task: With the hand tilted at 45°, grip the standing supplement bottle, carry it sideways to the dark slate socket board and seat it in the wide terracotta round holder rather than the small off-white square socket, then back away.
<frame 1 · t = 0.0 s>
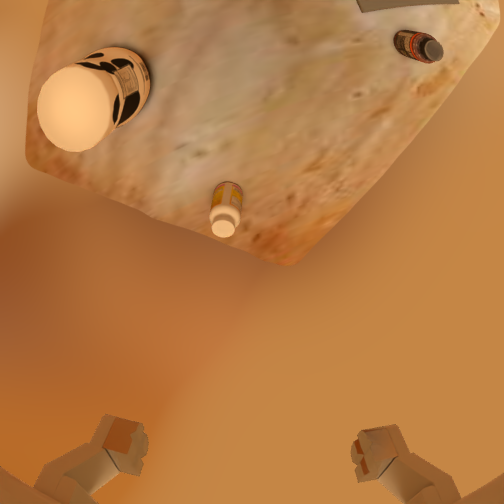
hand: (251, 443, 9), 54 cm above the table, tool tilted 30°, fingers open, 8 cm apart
supplement bottle: (405, 42, 36), on the table
supplement bottle 2: (228, 192, 66), on the table
milk container: (117, 82, 45), on the table
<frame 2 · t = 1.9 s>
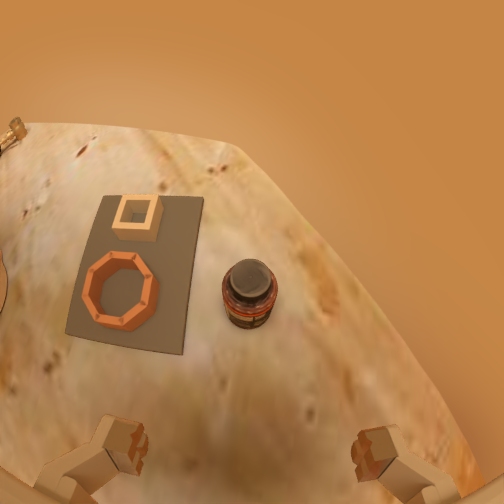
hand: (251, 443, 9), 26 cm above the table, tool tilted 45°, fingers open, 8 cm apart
socket board: (134, 265, 39), on the table
supplement bottle: (247, 308, 37), on the table
valve: (13, 145, 54), on the table
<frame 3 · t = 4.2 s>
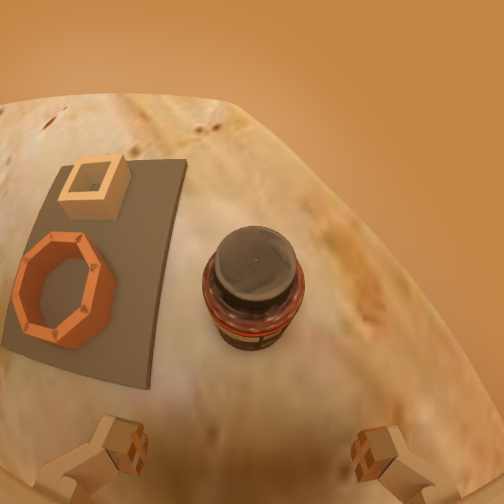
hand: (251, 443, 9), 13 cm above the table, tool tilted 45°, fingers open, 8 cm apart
socket board: (87, 253, 26), on the table
supplement bottle: (250, 318, 24), on the table
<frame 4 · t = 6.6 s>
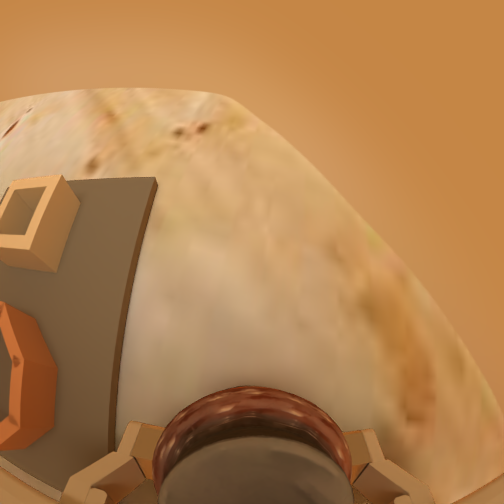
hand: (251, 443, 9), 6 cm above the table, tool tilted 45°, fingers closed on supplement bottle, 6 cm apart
socket board: (26, 316, 16), on the table
supplement bottle: (248, 433, 14), on the table, touching gripper
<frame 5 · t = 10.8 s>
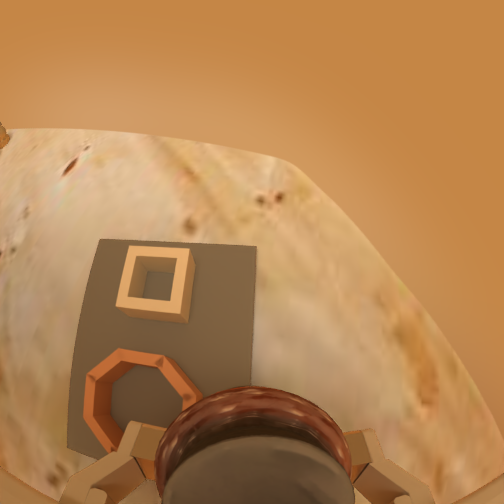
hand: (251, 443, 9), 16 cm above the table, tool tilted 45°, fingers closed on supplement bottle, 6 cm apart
socket board: (156, 357, 25), on the table
supplement bottle: (247, 433, 14), point 10 cm above the table, touching gripper
when the fingers open (9 cm above the table, at t = 15.0 s): supplement bottle drops 2 cm, resting on socket board.
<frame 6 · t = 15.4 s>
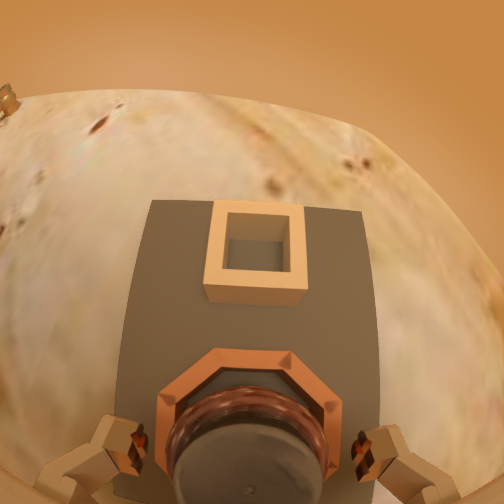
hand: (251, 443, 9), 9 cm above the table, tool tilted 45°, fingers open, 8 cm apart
socket board: (250, 357, 18), on the table
supplement bottle: (245, 428, 15), point 1 cm above the table, touching socket board
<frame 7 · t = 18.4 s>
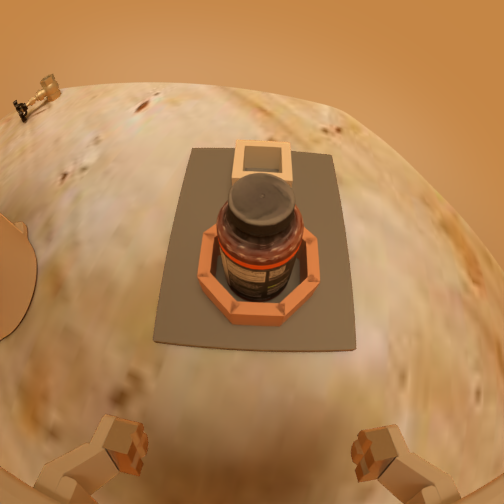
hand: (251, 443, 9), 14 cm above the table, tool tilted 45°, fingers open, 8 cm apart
socket board: (259, 233, 29), on the table
supplement bottle: (256, 274, 26), point 1 cm above the table, touching socket board
valve: (42, 107, 46), on the table
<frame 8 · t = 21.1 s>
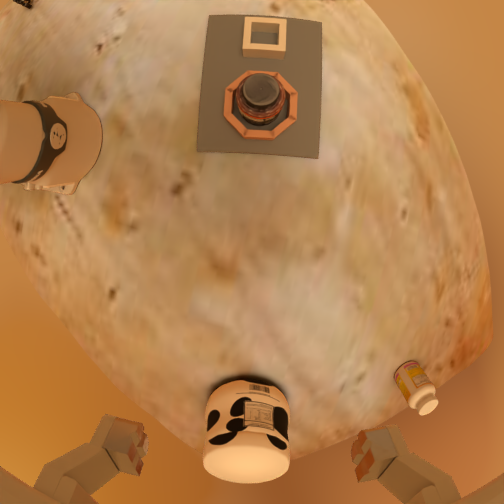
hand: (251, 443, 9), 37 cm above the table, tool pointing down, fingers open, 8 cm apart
socket board: (261, 79, 37), on the table
supplement bottle: (259, 108, 38), point 1 cm above the table, touching socket board
supplement bottle 2: (405, 370, 54), on the table
milk container: (247, 399, 56), on the table
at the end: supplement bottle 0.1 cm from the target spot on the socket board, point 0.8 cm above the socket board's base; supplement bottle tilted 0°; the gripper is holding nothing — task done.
